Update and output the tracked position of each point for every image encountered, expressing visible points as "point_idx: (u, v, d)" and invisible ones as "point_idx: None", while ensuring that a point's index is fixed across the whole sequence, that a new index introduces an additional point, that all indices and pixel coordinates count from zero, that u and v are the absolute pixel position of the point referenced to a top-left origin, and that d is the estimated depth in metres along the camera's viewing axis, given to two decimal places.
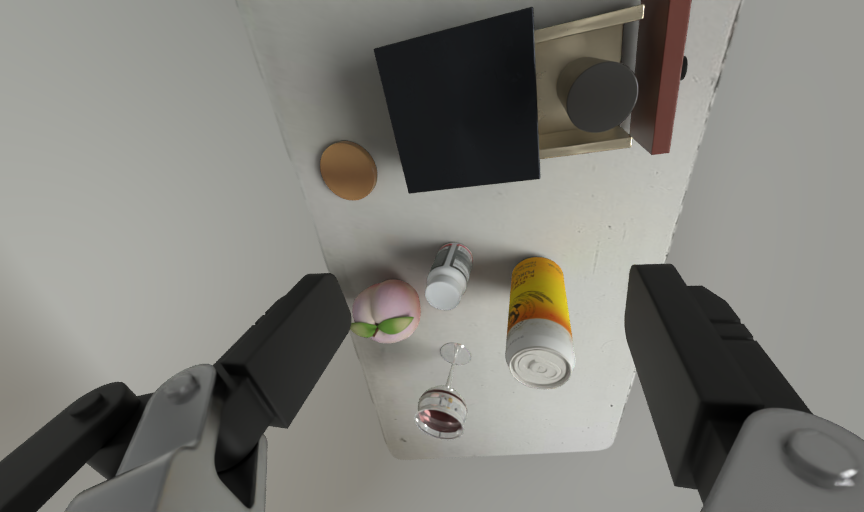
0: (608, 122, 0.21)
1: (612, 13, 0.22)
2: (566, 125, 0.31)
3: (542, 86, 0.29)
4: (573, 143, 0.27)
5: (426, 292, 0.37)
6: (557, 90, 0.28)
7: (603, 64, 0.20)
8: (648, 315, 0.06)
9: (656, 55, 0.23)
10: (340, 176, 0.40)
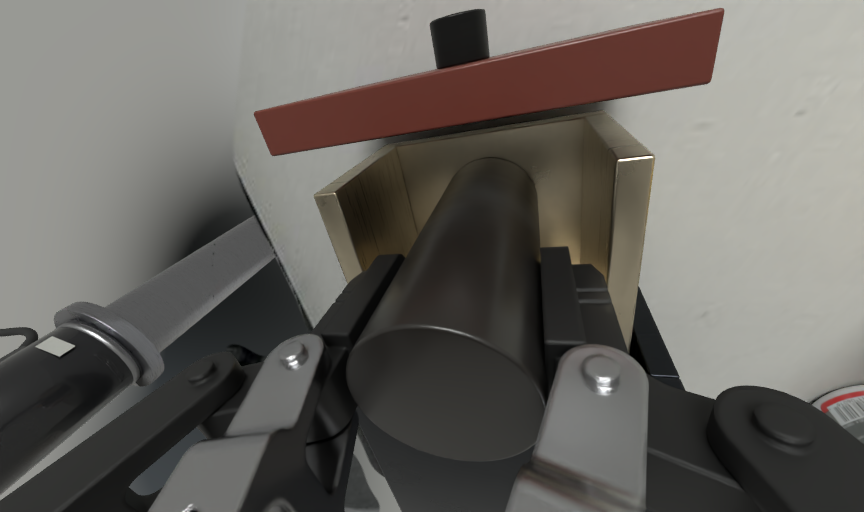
0: (514, 395, 0.06)
1: (335, 247, 0.11)
2: (570, 220, 0.14)
3: None
4: None
5: None
6: None
7: (353, 394, 0.07)
8: None
9: None
10: None
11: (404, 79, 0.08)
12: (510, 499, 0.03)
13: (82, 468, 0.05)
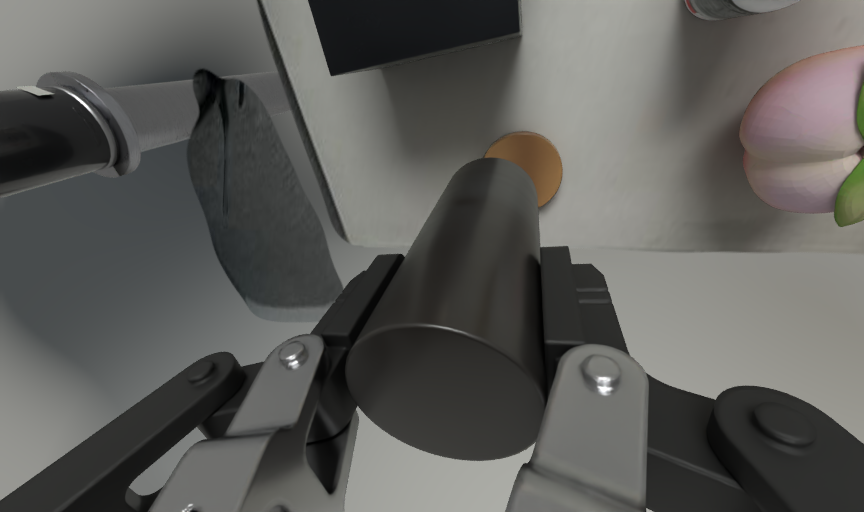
0: (514, 394, 0.06)
1: None
2: None
3: None
4: None
5: None
6: None
7: (353, 394, 0.07)
8: None
9: None
10: None
11: None
12: (510, 499, 0.03)
13: (82, 468, 0.05)
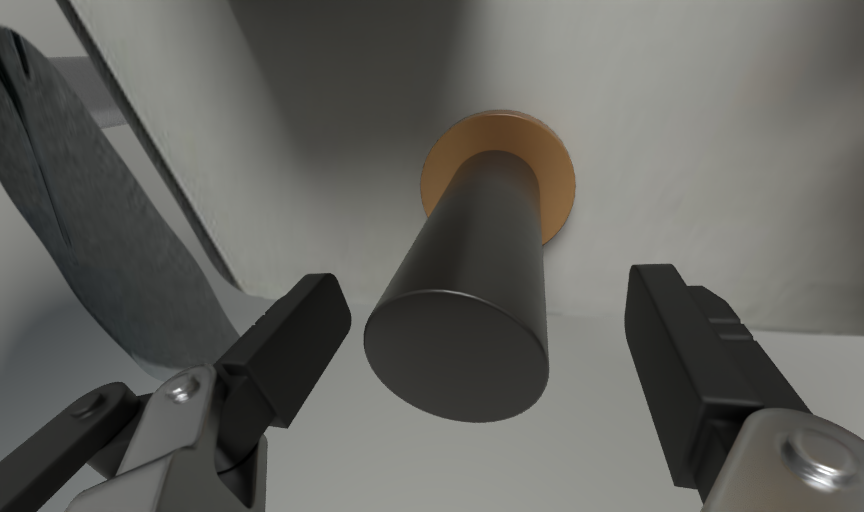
0: (518, 354, 0.06)
1: None
2: None
3: None
4: None
5: None
6: None
7: (370, 360, 0.08)
8: (648, 315, 0.06)
9: None
10: None
11: None
12: None
13: None
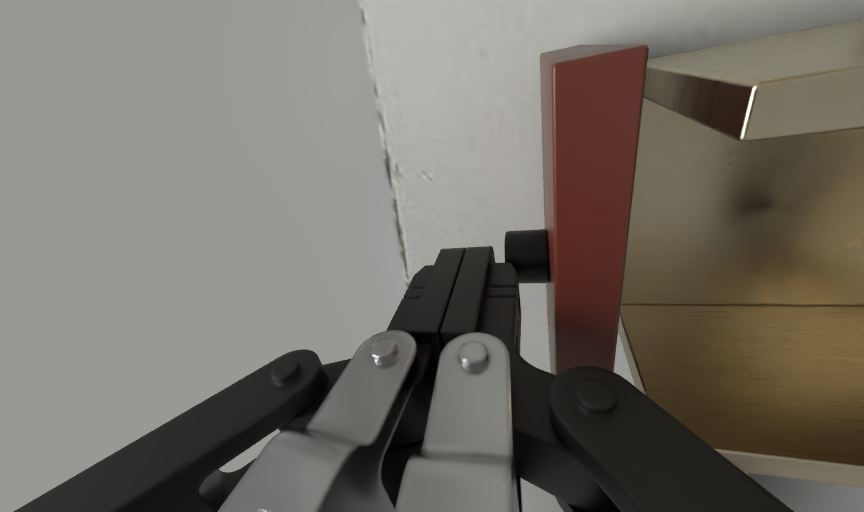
0: None
1: (745, 471, 0.08)
2: None
3: None
4: None
5: None
6: None
7: None
8: None
9: None
10: None
11: (556, 362, 0.08)
12: (401, 489, 0.04)
13: (168, 450, 0.05)
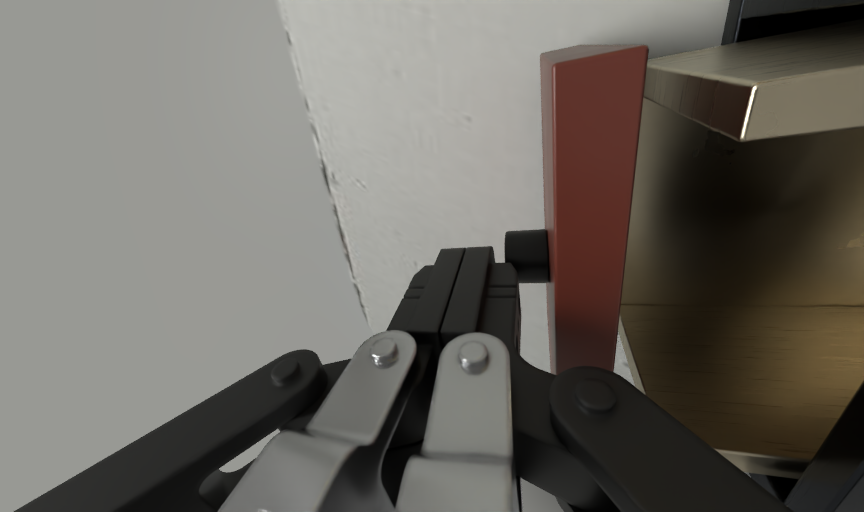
0: None
1: (745, 471, 0.08)
2: None
3: None
4: None
5: None
6: None
7: None
8: None
9: None
10: None
11: (556, 362, 0.08)
12: (401, 489, 0.04)
13: (168, 450, 0.05)
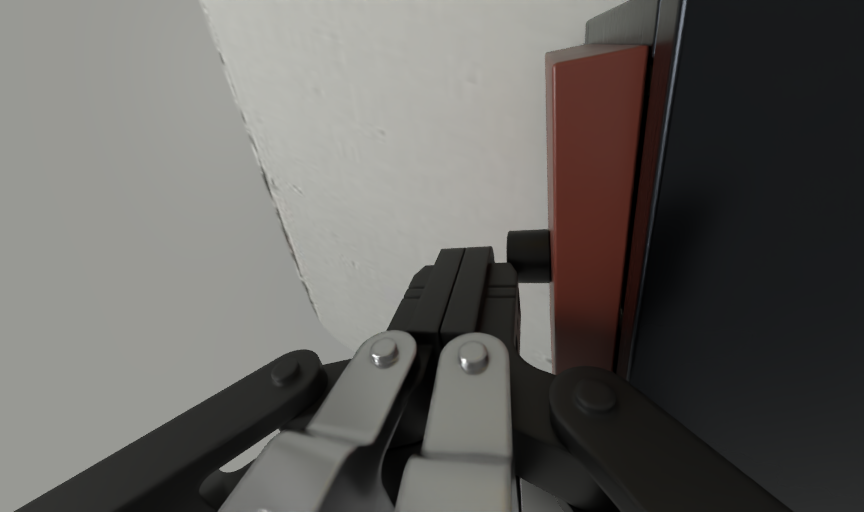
0: None
1: None
2: None
3: None
4: None
5: None
6: None
7: None
8: None
9: None
10: None
11: (555, 362, 0.08)
12: (401, 489, 0.04)
13: (168, 450, 0.05)
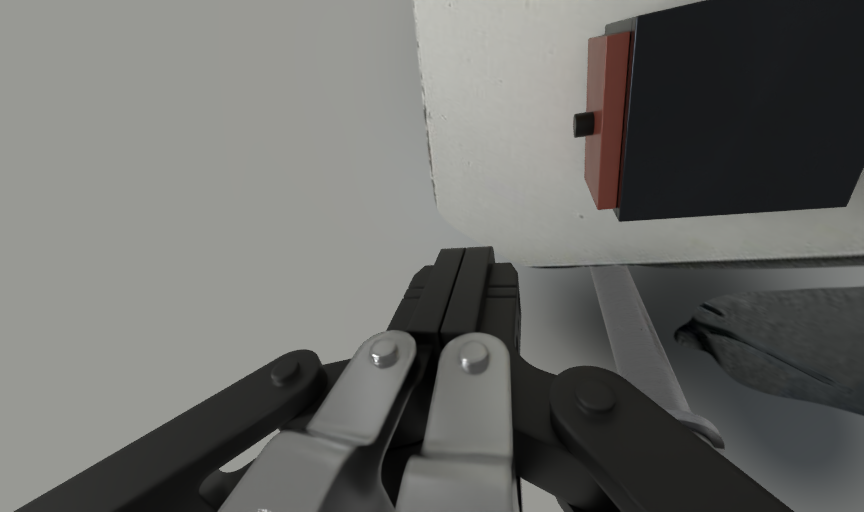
0: None
1: None
2: None
3: None
4: None
5: None
6: None
7: None
8: None
9: None
10: None
11: (600, 146, 0.21)
12: (401, 489, 0.04)
13: (168, 450, 0.05)
